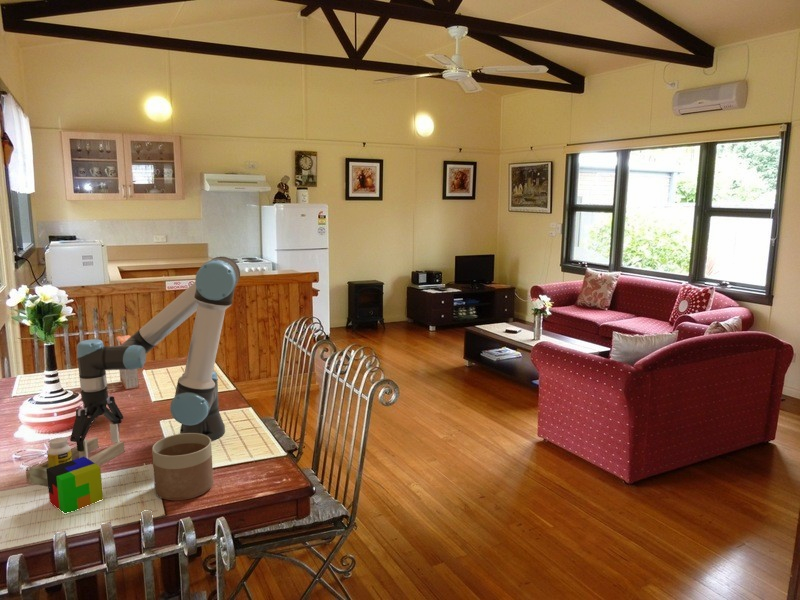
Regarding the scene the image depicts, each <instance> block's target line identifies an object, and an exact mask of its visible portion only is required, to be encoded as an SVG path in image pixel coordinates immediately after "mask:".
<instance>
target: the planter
mask: <svg viewBox="0 0 800 600" xmlns="http://www.w3.org/2000/svg"><path fill="white" fill-rule="evenodd" d="M151 454H152V464H153V465H152V466H153V478H154V493H155V495H157V497H158V498H160V499H164V500H166V501H184V500H189V499H193V498H196V497H199V496H200V495H203V494H205V493H206V492H207V491H209V490H210V489H211V488H212V487H213V484H214V469H213V451H212V440H211V439H210V438H209V437H208V436H206V435H203V434H198V433H183V434H180V433H178V434H173V435H168V436H166V437H164V438H161V439H159V440H158V441H156V442H155V443H154V444H153V445H152V447H151Z"/></svg>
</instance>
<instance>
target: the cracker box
mask: <svg viewBox="0 0 800 600" xmlns="http://www.w3.org/2000/svg"><path fill="white" fill-rule="evenodd" d="M131 336H132V335H129V334H128V335H118V336H116V346H120V345H122V344H123V343H124V342H125V341H127V340H128V339H129V338H130V337H131ZM118 371H119V377H120V378H119V380H120V382H121V384H122V385H123V388H124V390H125V391H126V390H131V389H137V388H140V383H139V381H140V380H139V370H138V369H133V370H129V369H126V370H118Z"/></svg>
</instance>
